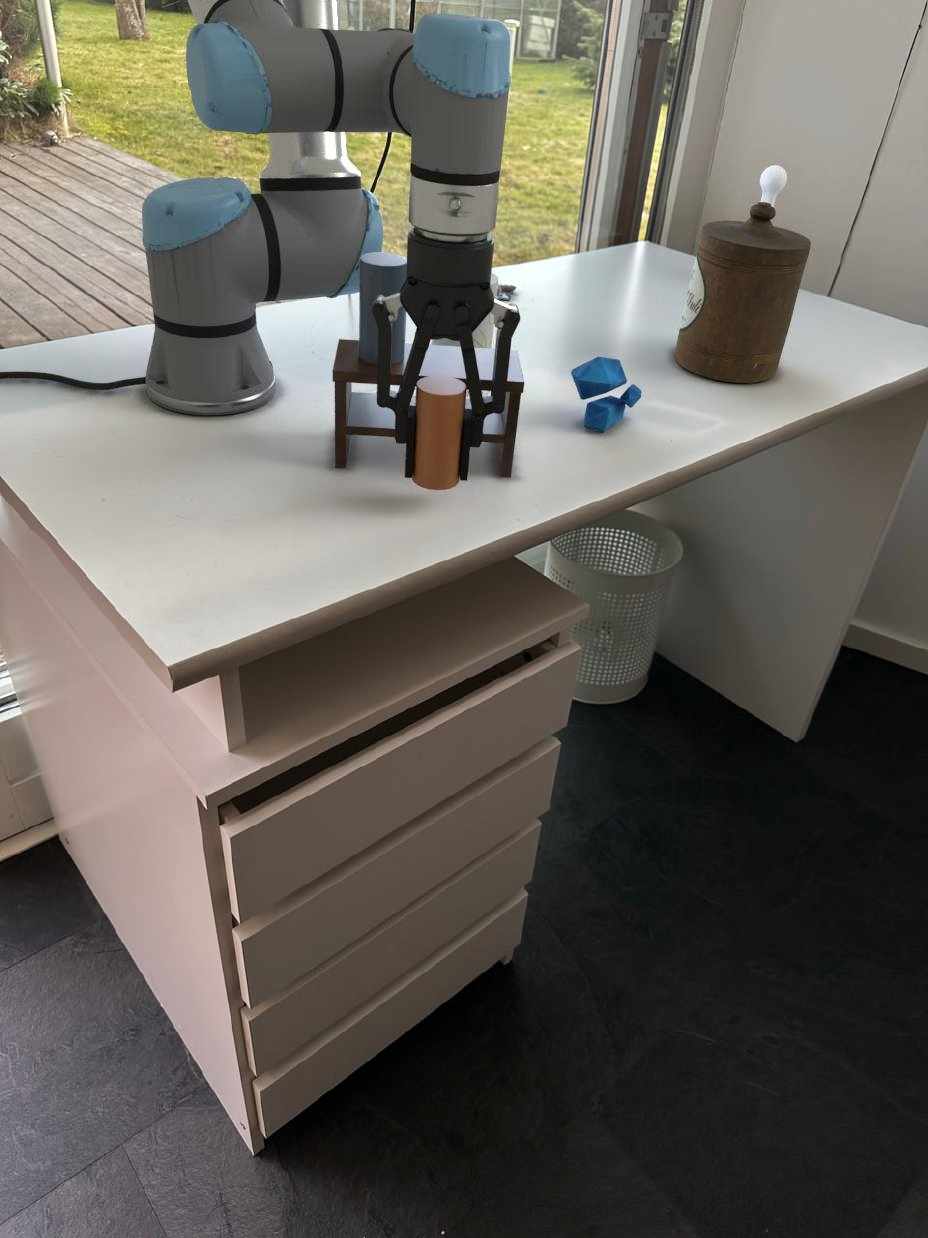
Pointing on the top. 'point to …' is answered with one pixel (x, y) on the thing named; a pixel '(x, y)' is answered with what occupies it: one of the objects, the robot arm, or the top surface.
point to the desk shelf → (369, 419)
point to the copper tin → (438, 432)
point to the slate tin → (385, 279)
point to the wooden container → (741, 298)
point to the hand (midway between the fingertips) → (435, 472)
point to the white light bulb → (772, 183)
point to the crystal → (603, 392)
